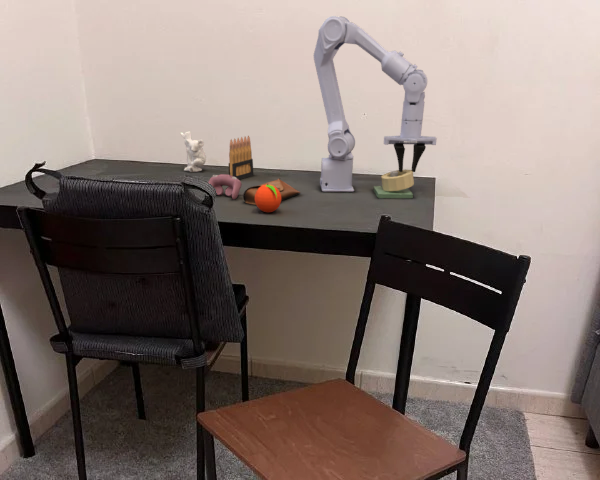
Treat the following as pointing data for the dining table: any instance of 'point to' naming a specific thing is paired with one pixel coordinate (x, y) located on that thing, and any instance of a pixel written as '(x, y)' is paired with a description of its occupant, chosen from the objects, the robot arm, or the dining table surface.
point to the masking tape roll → (397, 181)
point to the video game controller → (226, 180)
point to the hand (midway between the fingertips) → (406, 171)
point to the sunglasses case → (284, 188)
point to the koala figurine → (194, 153)
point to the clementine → (268, 198)
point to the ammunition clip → (240, 158)
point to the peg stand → (392, 194)
